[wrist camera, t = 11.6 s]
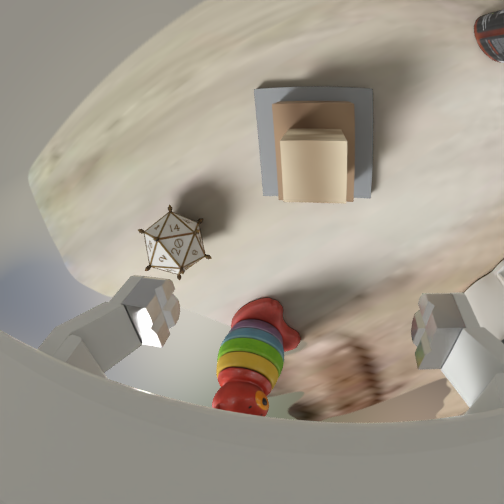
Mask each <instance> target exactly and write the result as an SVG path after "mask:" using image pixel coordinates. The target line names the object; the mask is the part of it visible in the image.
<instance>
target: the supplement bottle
mask: <svg viewBox="0 0 504 504" xmlns="http://www.w3.org/2000/svg"><path fill="white" fill-rule="evenodd" d="M474 33H475V37H476V40H477V43H478V44H479V46H480V48H481V49H482V51H483V52H484V53H485V54H486V55H487V56H488V57H489V58H491V59H492V60H494V61H497V62H502V63H504V9H503V10H500V11H496V12H493V13H490V14H487V15H484V16H481V17H479V18H478V19H477V20H476V22H475V25H474Z"/></svg>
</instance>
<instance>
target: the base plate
mask: <svg viewBox="0 0 504 504" xmlns="http://www.w3.org/2000/svg"><path fill="white" fill-rule="evenodd" d="M254 96H255V106H256V117H257V128H258V139H259V150H260V162H261V174H262V186H263V196H278V181H277V165H276V151H275V137H274V124H273V112H272V104H274V103H277V102H280V101H349V102H351V103H353V104H354V111H355V172H354V198H371V183H372V162H373V91H372V89H370V88H353V87H281V88H264V89H254Z"/></svg>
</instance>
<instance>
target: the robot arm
mask: <svg viewBox="0 0 504 504" xmlns="http://www.w3.org/2000/svg"><path fill="white" fill-rule="evenodd" d="M174 290H175V287H174V285H173V282H172V281H171V280H170V279H164V278H156V277H147V276H138V275H134V276H131V277H130V278H129V279H128V280H127V281H126V283H125V284H124V285H123V286H122V287H121V288H120V290H119V291H118V292H117V293H116V294H115V296H114V297H113V298H112V299H111V300H110V302H104V303H102V304H100V305H98V306H96V307H94V308H92V309H90V310H88V311H86V312H85V313H83V314H80V315H78V316H77V317H75V318H73V319H71V320H69V321H67V322H65V323H63V324H61V325H59V326H57V327H55V328H54V329H53V331H52V332H51V333H50V334H49V335H48V337H47V338H46V339H45V341H43V343H42V344H41V345H40V346H39V348H38V349H35V348H33V347H31V346H29V345H27V344H25V343H23V342H21V341H20V340H18V339H16V338H14V337H12V336H10V335H8V334H7V333H5V332H3V331H1V330H0V504H504V260H502V261H501V262H500V263H499V264H498V265H497V266H496V268H495V269H494V270H493V271H492V272H491V273H489V274H488V275H486V276H484V277H483V278H481V279H480V280H478V281H477V282H475V283H474V284H473V285H472V286H470V287H469V288H468V289H467V290H466V291H465V292H464V293H422V295H421V296H420V299H419V302H418V305H419V308H420V310H419V311H417V312H416V313H415V314H414V318H413V321H412V328H411V335H412V341H413V343H414V344H415V345H416V346H417V349H416V352H415V356H416V361H417V367H418V369H441V371H442V372H443V373H444V375H445V376H446V377H447V378H448V380H449V381H450V382H451V384H452V385H453V386H454V388H455V389H456V390H457V392H458V393H459V394H460V395H461V397H462V398H463V399H464V401H465V402H466V404H467V405H468V406H469V409H468V410H467V412H466V413H465V414H464V415H462V416H455V417H448V418H440V419H431V420H421V421H408V422H389V423H335V422H334V423H333V422H316V421H302V420H291V419H281V418H272V417H265V416H257V415H250V414H244V413H238V412H232V411H226V410H221V409H216V408H210V407H206V406H201V405H197V404H192V403H188V402H183V401H179V400H176V399H172V398H168V397H164V396H161V395H157V394H153V393H150V392H146V391H143V390H140V389H136V388H133V387H130V386H127V385H124V384H121V383H118V382H115V381H112V380H109V379H108V378H107V377H106V375H105V374H104V373H105V372H106V371H107V370H109V369H110V368H112V367H113V366H114V365H115V364H117V363H118V362H120V361H121V360H122V359H124V358H125V357H126V356H128V355H129V354H130V353H132V352H133V351H134V350H136V349H137V348H138V347H140V346H141V345H142V344H145V345H150V346H156V347H161V348H162V347H163V345H164V344H165V342H166V340H167V338H168V337H169V335H170V332H169V328H171V327H173V326H174V325H175V324H176V323H177V321H178V319H179V314H180V304H179V301H178V299H177V298H176V297H175V296H174V295H173V292H174Z"/></svg>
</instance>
